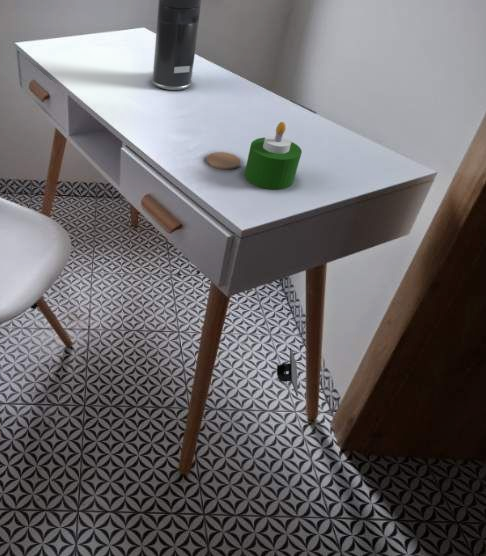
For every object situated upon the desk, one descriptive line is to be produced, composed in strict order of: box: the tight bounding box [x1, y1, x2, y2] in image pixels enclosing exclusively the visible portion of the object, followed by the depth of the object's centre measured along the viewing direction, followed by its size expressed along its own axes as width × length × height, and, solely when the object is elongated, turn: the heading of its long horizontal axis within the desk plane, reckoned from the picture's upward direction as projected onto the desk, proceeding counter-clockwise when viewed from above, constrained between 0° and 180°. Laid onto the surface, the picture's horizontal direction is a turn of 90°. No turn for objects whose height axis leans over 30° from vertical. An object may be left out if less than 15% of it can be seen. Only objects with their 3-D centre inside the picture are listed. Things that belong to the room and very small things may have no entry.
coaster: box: [206, 151, 241, 170], centre depth 93 cm, size 6×6×1 cm
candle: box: [244, 121, 302, 191], centre depth 86 cm, size 8×8×10 cm
